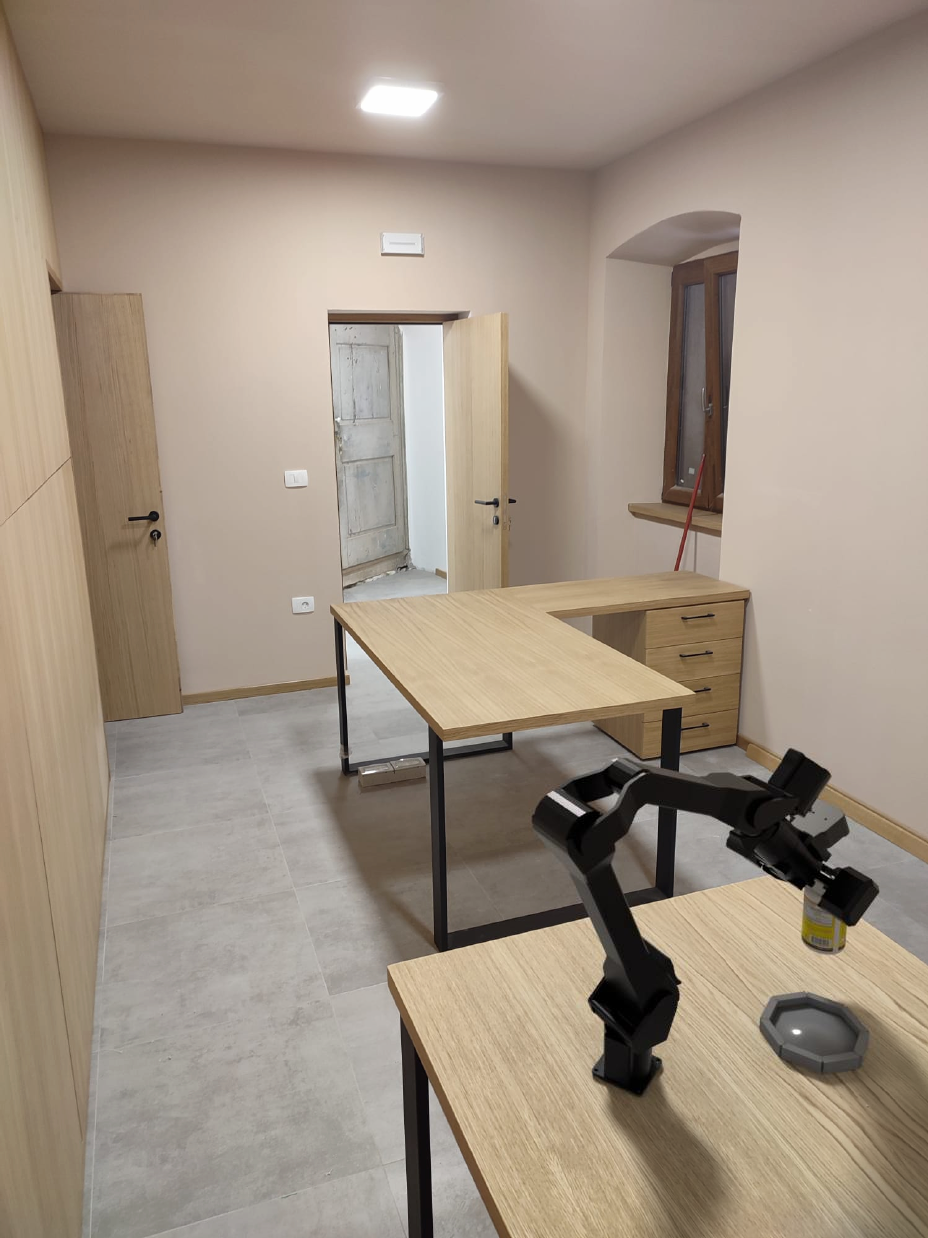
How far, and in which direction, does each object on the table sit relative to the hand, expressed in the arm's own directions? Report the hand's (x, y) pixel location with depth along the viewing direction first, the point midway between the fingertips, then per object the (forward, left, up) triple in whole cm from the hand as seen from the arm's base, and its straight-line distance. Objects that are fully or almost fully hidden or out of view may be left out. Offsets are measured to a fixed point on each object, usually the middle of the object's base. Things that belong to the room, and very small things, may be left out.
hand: (833, 897), depth 116 cm
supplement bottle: (-1, +1, -7) cm, 7 cm away
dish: (-12, -1, -13) cm, 18 cm away
